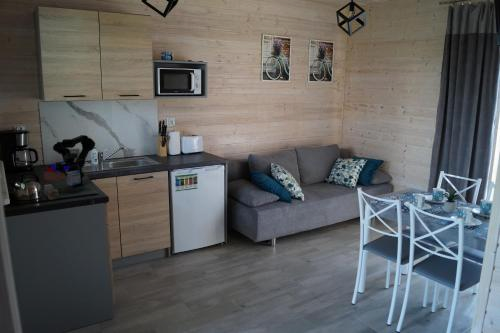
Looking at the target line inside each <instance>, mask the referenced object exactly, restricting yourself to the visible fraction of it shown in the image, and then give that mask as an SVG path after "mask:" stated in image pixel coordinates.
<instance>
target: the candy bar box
mask: <svg viewBox="0 0 500 333" xmlns="http://www.w3.org/2000/svg"><path fill="white" fill-rule="evenodd" d="M68 149H69V150H70V151H71V152H70V153H71V154H73V153H76V152H77V155H78V156H79V154H80V152H81V151H80V148H68ZM77 158H78V157H77ZM77 158H75V161H74V162H76V160H77Z"/></svg>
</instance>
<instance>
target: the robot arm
mask: <svg viewBox="0 0 500 333" xmlns="http://www.w3.org/2000/svg"><path fill="white" fill-rule="evenodd" d="M79 143H80V145H81V147H82V149H81V151H79V152H80V154H79V156H78V155H77V152H76V153H73V154H71V153H70V152H71V151H70V150H69V149H68V148H72V149H74V148H75V146H76V145H77V144H79ZM95 147H96V142H95V141H94V139H91V137H88V135H86V134H81V135H79V136H78V135H77V136H76V137H73V138H65V139H62V140H61V141H56V143H55V144H54V145H52V150H53V151H54V152H56V153H57V154H59V155H61V157H62V161H56V162H55V163H54V164H55V166H54V168H55V170H58V171H60V172H62V173H63V174H64V175H65V176H67V174H66V171H65V169H64V166H70V167H69V169H68V172H71V171H75V170H78V171H80V179H81V183H79V184H76V185H72V186H71V187H73V188H75V187H81V186H82V187H83V186H84V183H83V178H84V177H85V173H84V171H83V168H84V167H85V164H86V161H85V160H86V159H87V157H88V155H89V153H90V152H91V151H93V149H94V148H95ZM77 157H78V158H77ZM75 158H77V160H76V162H74V161H75ZM62 162H64V163H63V164H62Z"/></svg>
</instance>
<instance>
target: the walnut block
mask: <svg viewBox="0 0 500 333" xmlns="http://www.w3.org/2000/svg"><path fill="white" fill-rule="evenodd" d="M59 197H60V195H59V190H57V189H56V188H54V190H49V191H48V197H47V198H48V199H49V200H50V201H52V200H57V199H59Z"/></svg>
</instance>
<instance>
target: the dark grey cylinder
mask: <svg viewBox="0 0 500 333" xmlns="http://www.w3.org/2000/svg"><path fill="white" fill-rule="evenodd" d="M49 190H55V187H54V186H48V187H44V192H45V191H46V194H45V197H47V198H48V191H49Z"/></svg>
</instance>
